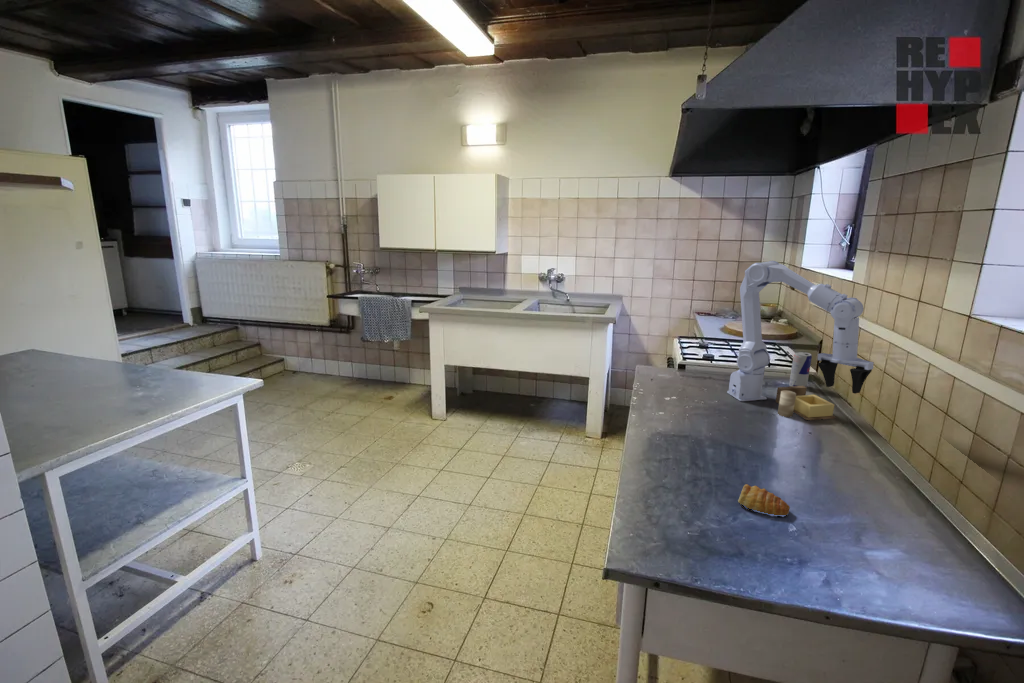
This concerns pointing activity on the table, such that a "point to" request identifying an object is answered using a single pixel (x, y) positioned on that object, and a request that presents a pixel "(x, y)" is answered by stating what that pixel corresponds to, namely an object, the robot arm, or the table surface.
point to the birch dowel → (786, 403)
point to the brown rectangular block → (799, 391)
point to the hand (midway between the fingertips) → (842, 389)
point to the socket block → (813, 406)
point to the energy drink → (800, 369)
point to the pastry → (762, 501)
